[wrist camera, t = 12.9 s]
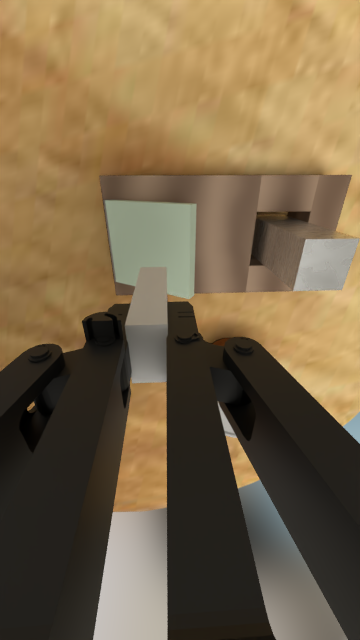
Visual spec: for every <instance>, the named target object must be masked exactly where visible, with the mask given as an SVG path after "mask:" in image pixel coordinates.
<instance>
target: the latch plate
mask: <svg viewBox="0 0 360 640" xmlns="http://www.w3.org/2000/svg"><path fill="white" fill-rule="evenodd" d="M103 201H104V208H105V216H106V223H107V230H108V237H109V244H110V251H111V258H112V265H113V273H114V280H115V282H119V283H123V284H128V285H132V286H136V282H137V279H138V275H139V271H140V268H141V267H166V269H167V294H170V295H174V296H178V297H182V298H186V299H190V298H191V297H192V296H194V278H195V241H196V205H197V204H193V203H172V202H151V201H130V200H103Z"/></svg>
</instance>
